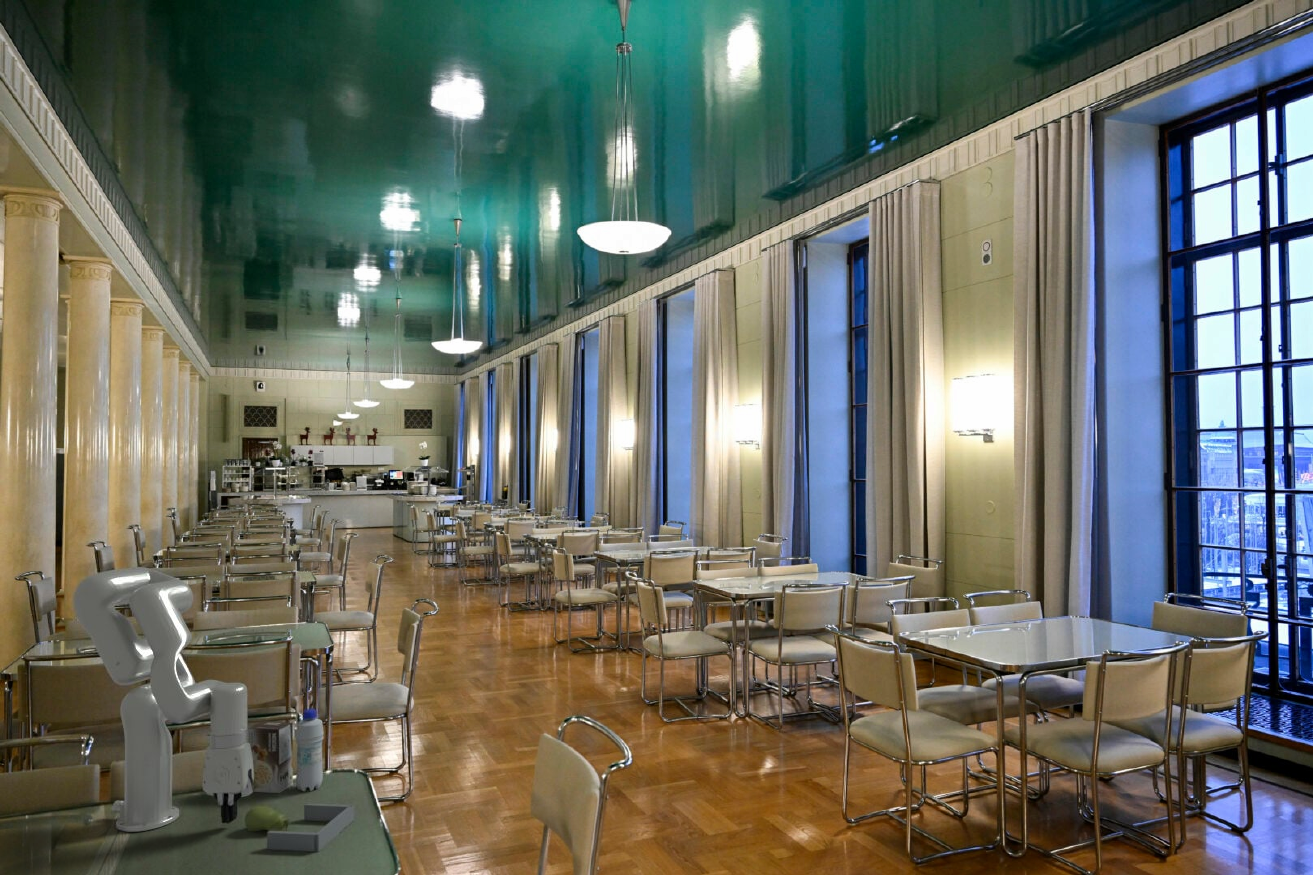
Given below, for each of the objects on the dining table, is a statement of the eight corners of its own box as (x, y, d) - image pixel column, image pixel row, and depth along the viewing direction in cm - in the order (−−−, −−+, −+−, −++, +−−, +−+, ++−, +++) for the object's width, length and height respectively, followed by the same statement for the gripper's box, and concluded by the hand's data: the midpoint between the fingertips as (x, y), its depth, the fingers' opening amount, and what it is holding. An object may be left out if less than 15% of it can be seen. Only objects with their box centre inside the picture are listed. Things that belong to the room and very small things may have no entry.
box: (267, 849, 182) (267, 832, 182) (306, 818, 198) (306, 803, 198) (318, 851, 181) (318, 834, 181) (354, 820, 196) (354, 805, 197)
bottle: (313, 793, 213) (313, 713, 214) (289, 792, 214) (290, 712, 215) (328, 784, 219) (329, 706, 220) (305, 782, 221) (306, 704, 221)
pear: (257, 799, 195) (296, 809, 193) (253, 822, 195) (292, 832, 193) (241, 808, 190) (280, 819, 188) (237, 832, 190) (276, 843, 188)
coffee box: (294, 784, 219) (294, 721, 220) (279, 793, 213) (279, 729, 214) (262, 782, 221) (262, 720, 221) (246, 791, 215) (246, 727, 215)
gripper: (187, 743, 190) (187, 826, 190) (249, 745, 189) (250, 828, 188) (209, 733, 198) (209, 813, 197) (269, 734, 196) (269, 815, 195)
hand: (229, 820), depth 193 cm, fingers closed
